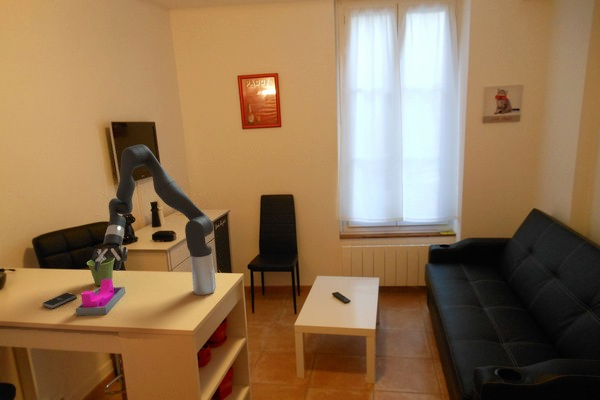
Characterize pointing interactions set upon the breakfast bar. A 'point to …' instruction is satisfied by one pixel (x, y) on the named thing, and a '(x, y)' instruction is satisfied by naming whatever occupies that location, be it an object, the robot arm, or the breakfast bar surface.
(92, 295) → the toy block
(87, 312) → the tray
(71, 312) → the breakfast bar surface
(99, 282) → the plant pot
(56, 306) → the external hard drive
